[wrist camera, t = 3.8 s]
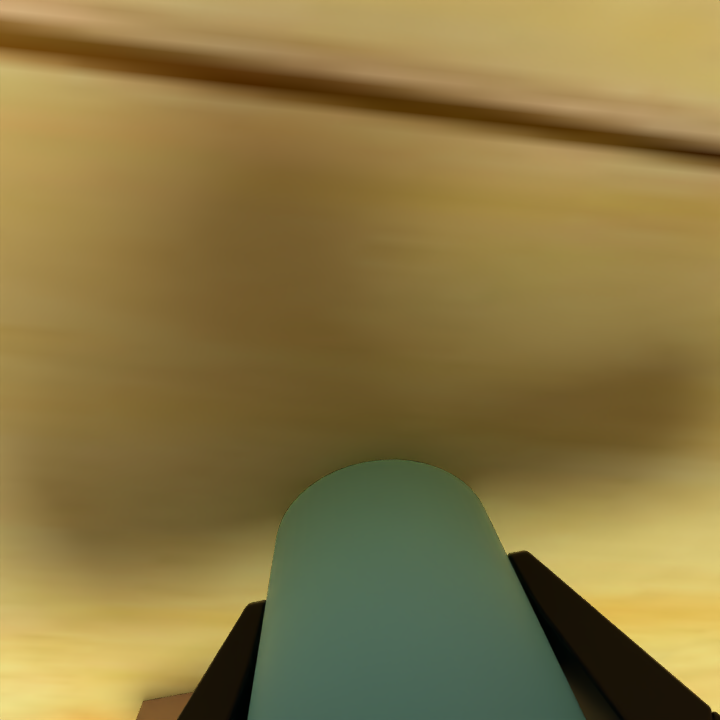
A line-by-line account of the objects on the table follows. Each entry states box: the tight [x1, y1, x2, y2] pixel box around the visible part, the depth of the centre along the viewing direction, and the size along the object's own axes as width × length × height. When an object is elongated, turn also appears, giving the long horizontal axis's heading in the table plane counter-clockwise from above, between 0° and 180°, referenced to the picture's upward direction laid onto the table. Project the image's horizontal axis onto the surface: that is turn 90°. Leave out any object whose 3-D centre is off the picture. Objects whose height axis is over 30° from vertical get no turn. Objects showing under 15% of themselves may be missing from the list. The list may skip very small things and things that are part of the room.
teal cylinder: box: [247, 459, 586, 720], centre depth 7 cm, size 5×5×5 cm
